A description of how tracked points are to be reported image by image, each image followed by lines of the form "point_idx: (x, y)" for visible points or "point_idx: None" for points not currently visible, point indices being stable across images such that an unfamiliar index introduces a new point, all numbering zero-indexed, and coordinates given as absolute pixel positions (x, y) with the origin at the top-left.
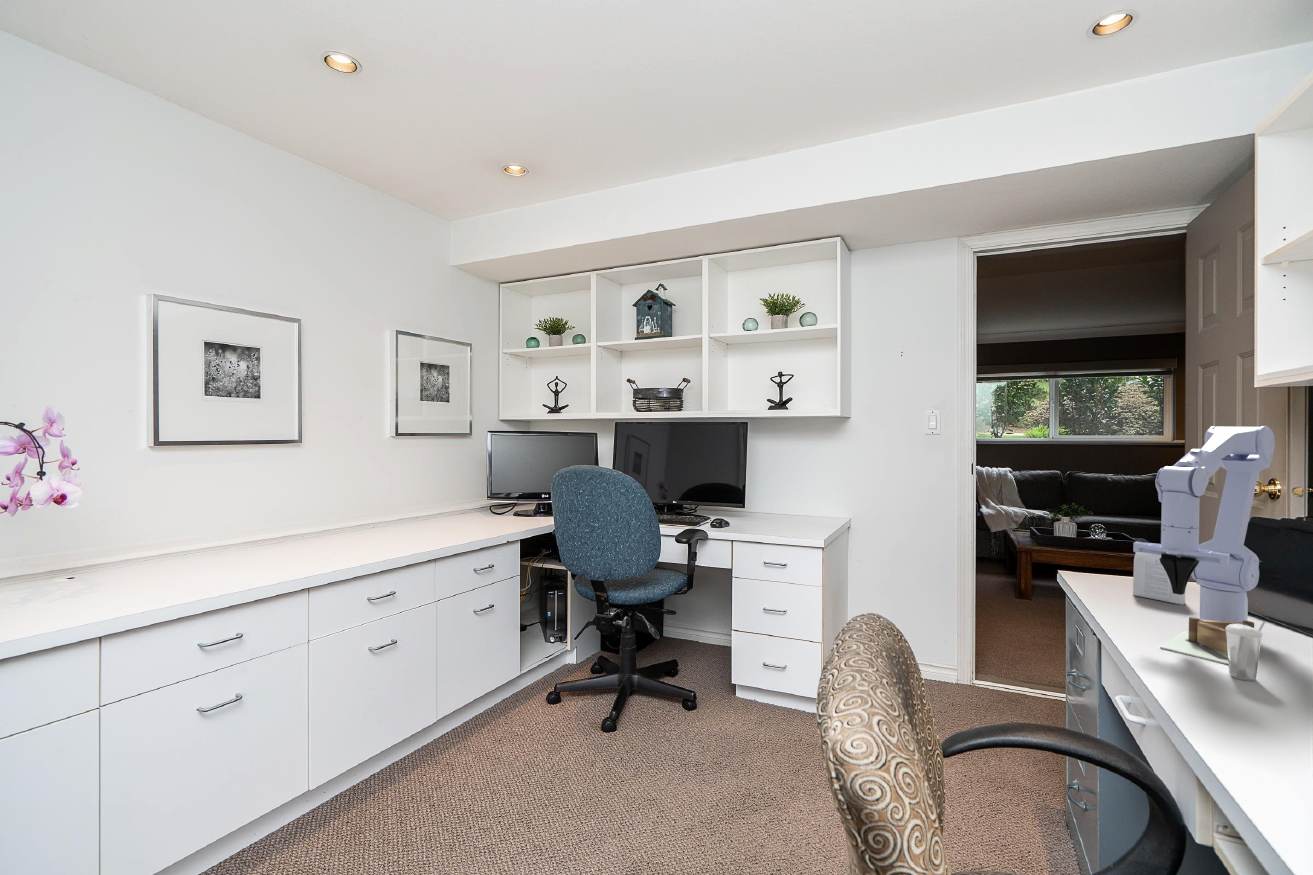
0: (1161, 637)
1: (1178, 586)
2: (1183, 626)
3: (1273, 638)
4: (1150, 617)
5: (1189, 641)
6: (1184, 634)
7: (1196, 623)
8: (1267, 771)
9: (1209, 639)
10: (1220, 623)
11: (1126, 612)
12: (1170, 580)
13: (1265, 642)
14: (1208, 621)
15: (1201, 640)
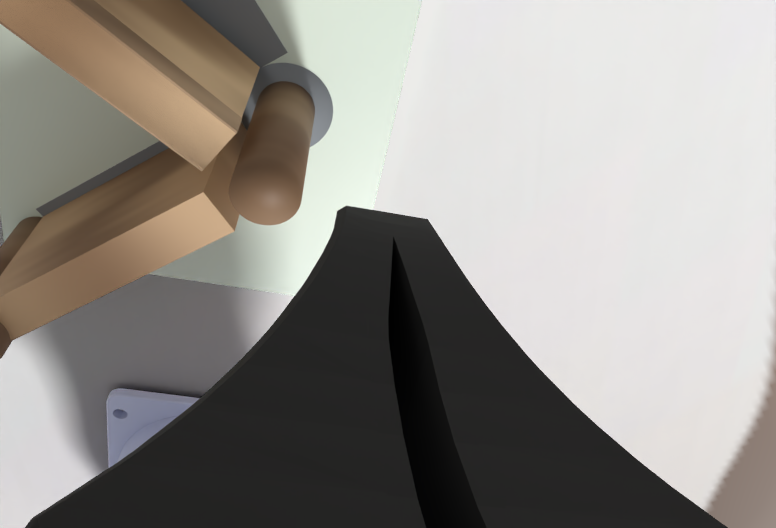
0: (463, 93)
1: (373, 254)
2: None
3: (19, 451)
4: None
5: (307, 89)
6: None
7: (250, 147)
8: None
9: (167, 18)
10: (112, 237)
11: None
12: (486, 312)
13: (19, 373)
14: (177, 211)
15: (229, 53)
